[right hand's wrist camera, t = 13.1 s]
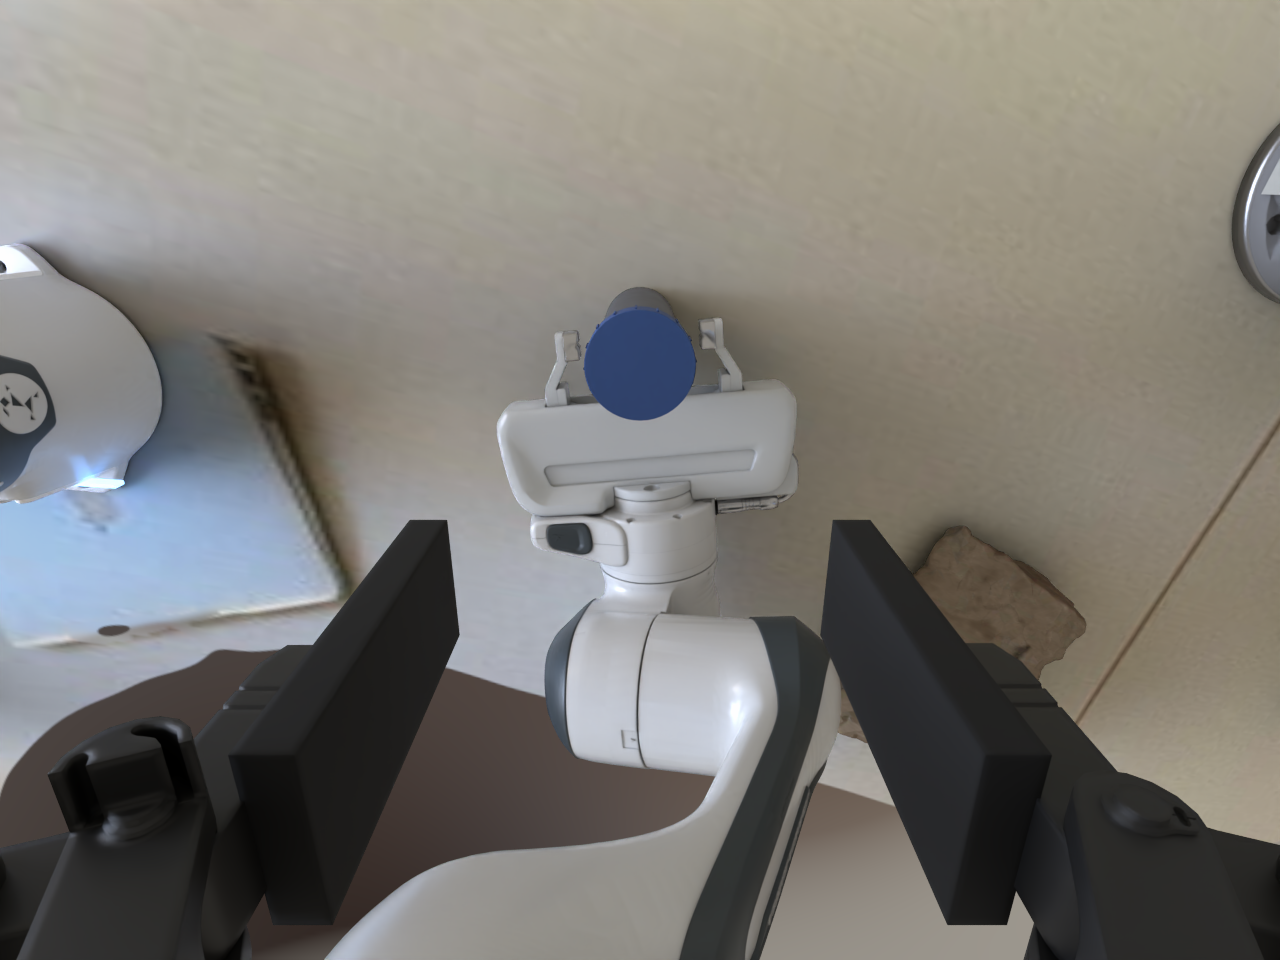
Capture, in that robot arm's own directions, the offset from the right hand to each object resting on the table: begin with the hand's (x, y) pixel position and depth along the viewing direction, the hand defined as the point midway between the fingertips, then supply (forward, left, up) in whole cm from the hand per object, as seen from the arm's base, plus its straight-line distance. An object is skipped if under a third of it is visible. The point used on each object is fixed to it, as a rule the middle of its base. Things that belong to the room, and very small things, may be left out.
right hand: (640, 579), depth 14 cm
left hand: (0, -1, -33) cm, 33 cm away
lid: (0, 0, -23) cm, 23 cm away
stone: (-36, +12, -39) cm, 54 cm away
